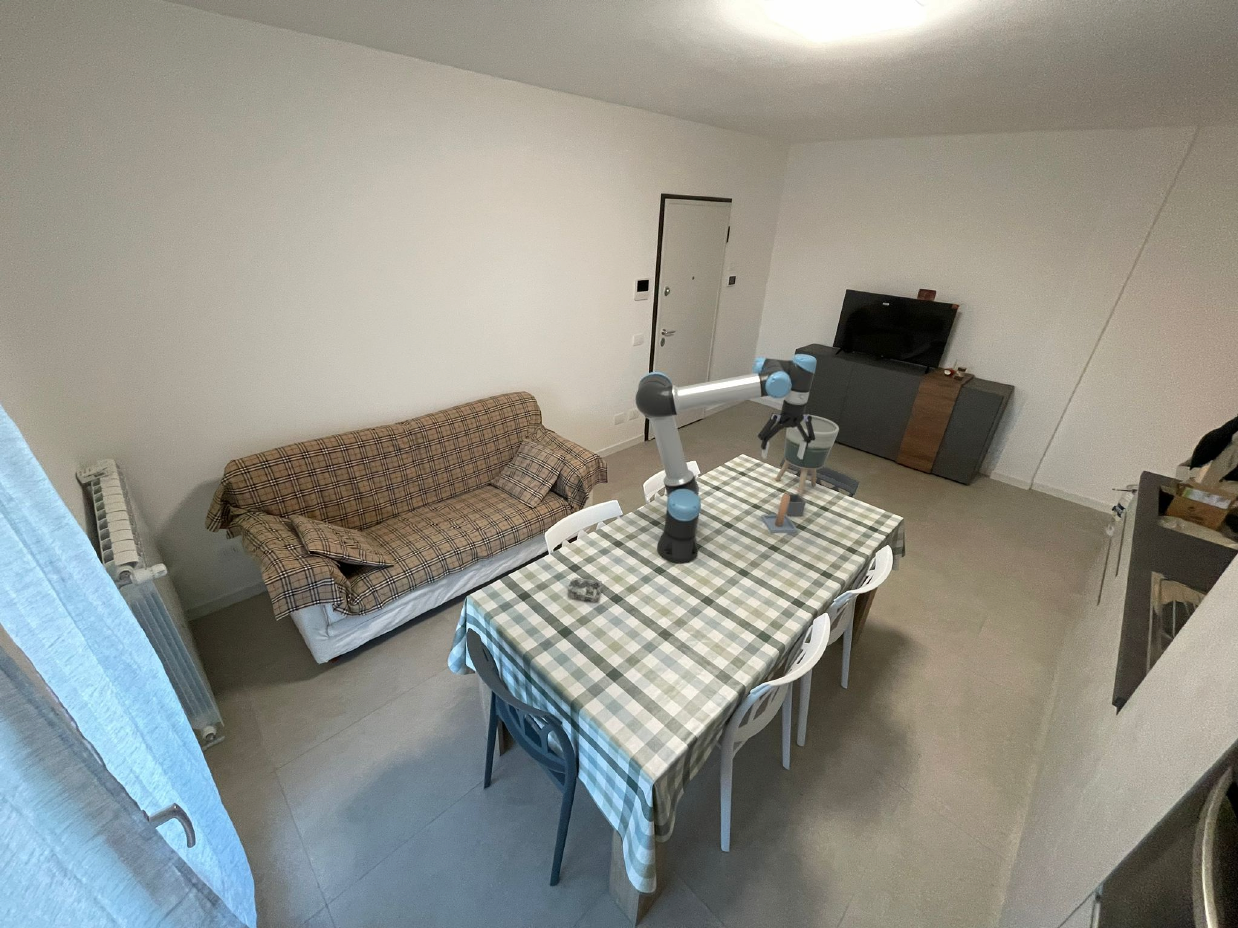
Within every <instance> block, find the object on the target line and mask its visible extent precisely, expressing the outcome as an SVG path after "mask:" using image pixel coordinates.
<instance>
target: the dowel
mask: <svg viewBox="0 0 1238 928" xmlns="http://www.w3.org/2000/svg"><path fill="white" fill-rule="evenodd" d="M788 494H789V493H783V494H782V496H781V500H780V503H779V507H778V510H777V514H776V515H777V518H776V522H775V525H776V526H777V527H782V525H783V522H784V518H785V514H786V511H787V507H788V504H789V500H790V495H788Z"/></svg>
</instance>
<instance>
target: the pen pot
mask: <svg viewBox="0 0 1238 928" xmlns="http://www.w3.org/2000/svg"><path fill="white" fill-rule="evenodd" d="M787 494H788V495H790V500H789V504H788V507H787V511H786V514H785V515H787V516H788V517H789V518H790V517H793V518H794V517H796V518H797V517H799V518H800V517H803V514H804V511H805V507H806V501H805V499H803V497H802V498H801V496H800V495H799V494H798V493H787Z"/></svg>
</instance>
